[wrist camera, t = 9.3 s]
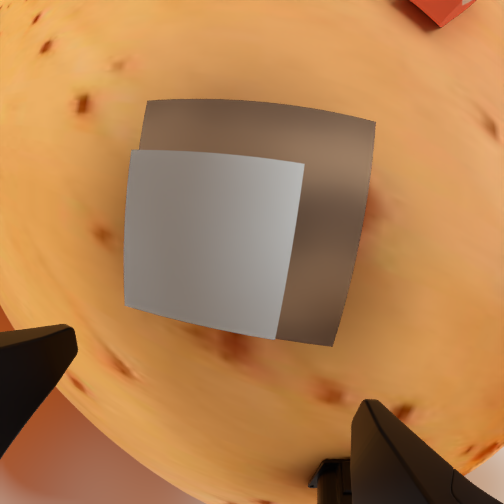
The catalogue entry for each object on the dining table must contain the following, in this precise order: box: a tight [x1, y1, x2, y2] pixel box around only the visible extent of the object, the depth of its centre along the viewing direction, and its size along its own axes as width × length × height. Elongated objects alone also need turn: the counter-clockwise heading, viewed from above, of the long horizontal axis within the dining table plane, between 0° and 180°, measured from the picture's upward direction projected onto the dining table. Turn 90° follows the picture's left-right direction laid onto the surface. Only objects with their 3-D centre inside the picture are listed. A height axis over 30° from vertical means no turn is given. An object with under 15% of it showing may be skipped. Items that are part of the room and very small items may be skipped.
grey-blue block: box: [124, 150, 305, 340], centre depth 10 cm, size 5×5×6 cm
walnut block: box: [139, 99, 376, 347], centre depth 15 cm, size 12×12×4 cm
